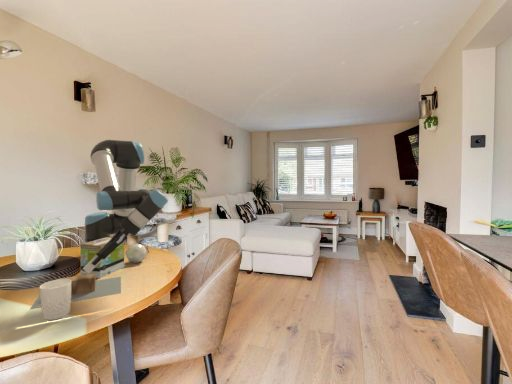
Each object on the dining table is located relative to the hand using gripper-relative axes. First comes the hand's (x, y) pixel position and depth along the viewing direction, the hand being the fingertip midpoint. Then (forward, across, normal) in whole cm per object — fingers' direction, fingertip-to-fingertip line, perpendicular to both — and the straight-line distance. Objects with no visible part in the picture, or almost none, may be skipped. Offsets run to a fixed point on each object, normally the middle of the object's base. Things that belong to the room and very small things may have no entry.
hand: (86, 270), depth 99 cm
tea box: (+3, -20, +9) cm, 22 cm away
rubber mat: (+7, 0, +4) cm, 8 cm away
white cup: (+10, +16, +1) cm, 19 cm away
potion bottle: (-8, -33, +20) cm, 39 cm away
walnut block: (+2, 0, +5) cm, 6 cm away
